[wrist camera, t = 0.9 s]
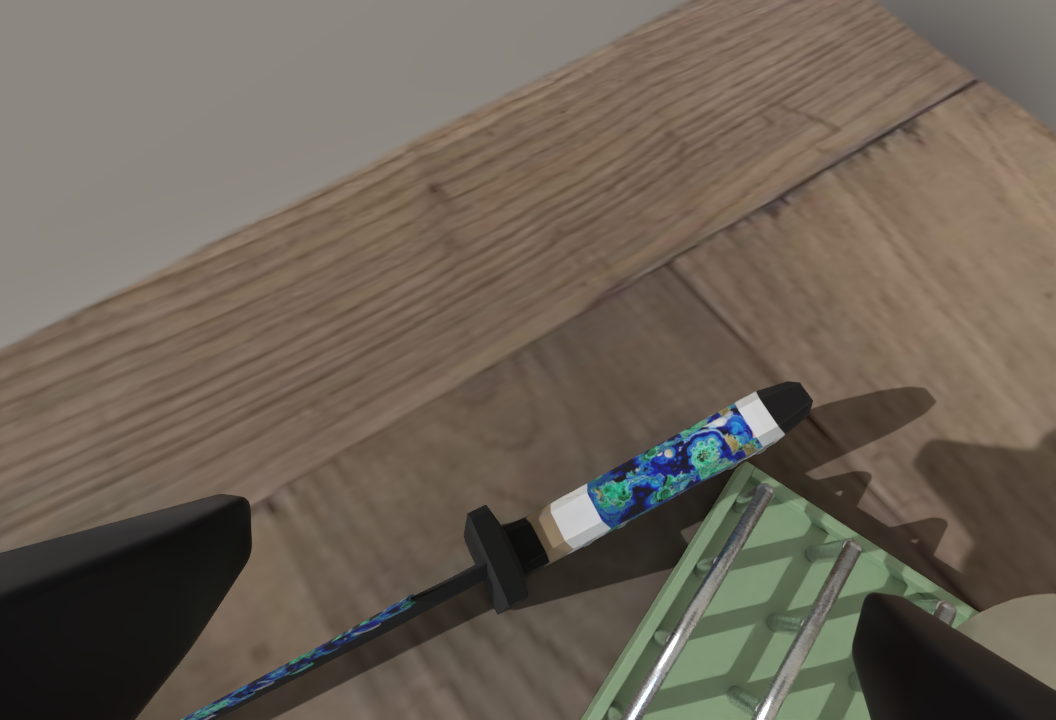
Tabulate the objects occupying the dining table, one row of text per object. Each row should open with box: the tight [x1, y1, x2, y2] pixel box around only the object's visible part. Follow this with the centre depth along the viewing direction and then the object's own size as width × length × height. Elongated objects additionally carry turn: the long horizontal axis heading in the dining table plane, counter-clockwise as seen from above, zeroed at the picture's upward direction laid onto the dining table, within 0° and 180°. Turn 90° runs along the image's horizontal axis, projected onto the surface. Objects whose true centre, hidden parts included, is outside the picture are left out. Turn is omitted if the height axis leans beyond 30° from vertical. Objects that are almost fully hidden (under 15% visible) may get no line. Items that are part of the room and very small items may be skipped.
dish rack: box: [581, 461, 979, 720], centre depth 19 cm, size 11×10×4 cm
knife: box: [181, 381, 813, 720], centre depth 20 cm, size 31×3×4 cm, turn 113°
